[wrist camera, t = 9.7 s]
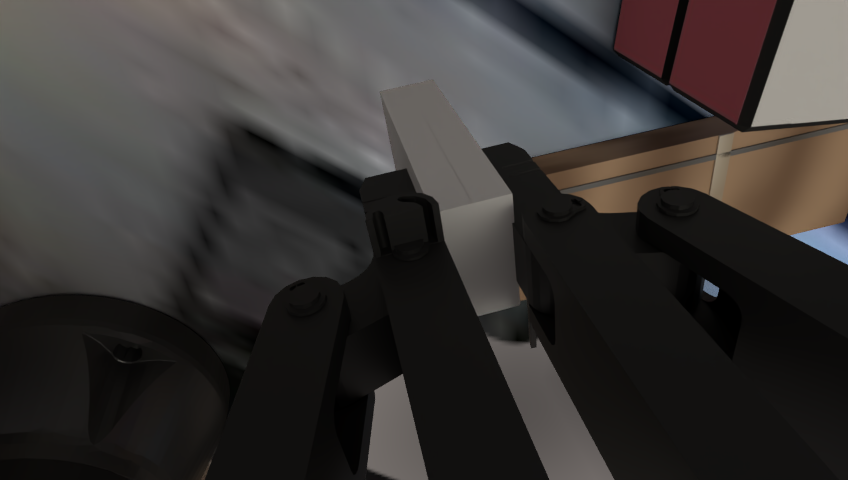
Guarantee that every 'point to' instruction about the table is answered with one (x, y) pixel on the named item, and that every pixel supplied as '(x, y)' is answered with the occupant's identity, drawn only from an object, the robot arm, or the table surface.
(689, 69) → the puzzle cube
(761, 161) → the brown wooden plank
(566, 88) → the table surface
